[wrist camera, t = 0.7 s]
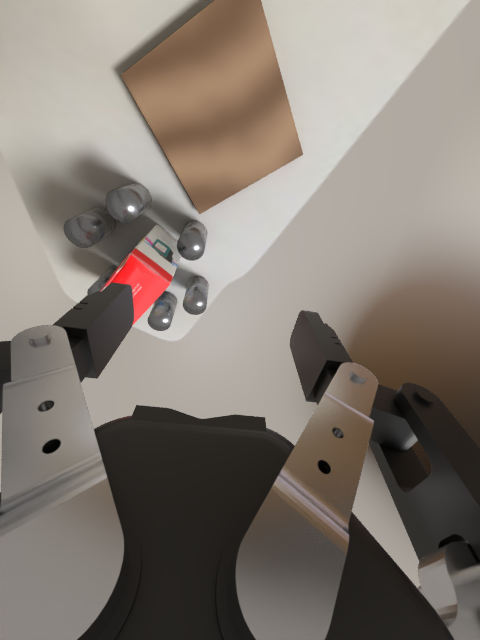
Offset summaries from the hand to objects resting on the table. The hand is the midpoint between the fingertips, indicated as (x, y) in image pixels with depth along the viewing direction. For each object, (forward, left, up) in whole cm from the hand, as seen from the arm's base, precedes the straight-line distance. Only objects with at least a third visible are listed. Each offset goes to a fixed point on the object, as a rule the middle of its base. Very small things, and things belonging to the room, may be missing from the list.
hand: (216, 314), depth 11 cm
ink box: (+1, -12, -25) cm, 27 cm away
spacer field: (+1, -12, -24) cm, 27 cm away
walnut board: (-8, +4, -24) cm, 26 cm away
